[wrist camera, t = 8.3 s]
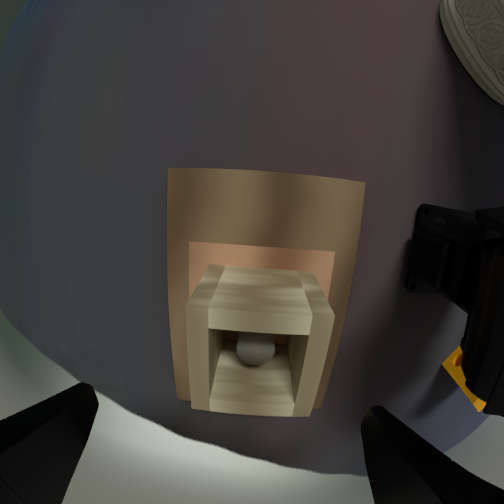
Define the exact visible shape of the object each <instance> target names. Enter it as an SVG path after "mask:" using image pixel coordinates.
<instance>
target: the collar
mask: <svg viewBox="0 0 504 504" xmlns="http://www.w3.org/2000/svg"><path fill="white" fill-rule="evenodd" d="M185 309H186V335H187V353H188V369H189V383H190V395H191V406H192V409H198V410H206V411H214V412H222V413H232V414H244V415H260V416H293V417H302V416H310V414H311V411H312V408H313V404H314V401H315V397H316V394H317V390H318V386H319V383H320V379H321V375H322V371H323V367H324V363H325V359H326V355H327V351H328V346H329V342H330V338H331V333H332V328H333V324H334V319H335V315H334V313H333V311H332V309H331V307H330V305H329V303H328V301H327V299H326V297H325V295H324V293H323V291H322V289H321V287H320V285H319V283H318V281H317V279H316V277H315V275H314V273H313V272H312V271H297V270H283V269H268V268H255V267H241V266H228V265H215V264H209V266H208V268H207V269H206V271H205V273H204V275H203V276H202V278H201V280H200V281H199V283H198V285H197V286H196V288H195V290H194V292H193V293H192V295H191V297H190V298H189V300H188V302H187V304H186V305H185ZM224 330H232V331H244V332H257V333H273V334H289V335H288V341H287V344H275V353H274V355H273V357H272V358H271V359H270V360H269V361H268V362H266V363H264V364H260V365H252V364H248V363H246V362H244V361H243V360H241V359H240V357H239V356H238V354H237V342H238V341H232V340H223V331H224Z"/></svg>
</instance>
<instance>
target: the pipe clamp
mask: <svg viewBox="0 0 504 504" xmlns="http://www.w3.org/2000/svg"><path fill="white" fill-rule="evenodd" d="M461 359H462V350H461V347H460V346H459V347H458V348H457V349H456V350H455V351H454V352H453V353H452V354H451V355H450V356H449V357H448V358H447V359H446V360H445V361H444V362H443V363H442V365H443V366H444V368H445V369H446V370H447V371H448V373H449V374H450V375H451V376H452V378H453V379H454V380H455V381H456V383H457V384H458V385H459V387H460V388H461V389H462V390H463V392H464V393H465V394H466V396H467V397H468V398H469V400H470V401H471V402H472V403H473V405H474V406H475V408H476V409H477V410H478V412H480V411H481V410H482V409H483V408H484V407H485V405H486V402H484V401H482V400H480V399H479V398H478V397H476V396H475V395H474V394H472V393H471V392H470V390H469V389H468V388H467V387H466V386H465V381H466V379H465V377H464V374H463V371H462V368H461Z"/></svg>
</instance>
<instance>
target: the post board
mask: <svg viewBox="0 0 504 504" xmlns="http://www.w3.org/2000/svg"><path fill="white" fill-rule="evenodd" d="M364 193H365V182H360V181H353V180H345V179H338V178H330V177H321V176H312V175H302V174H292V173H281V172H268V171H253V170H236V169H212V168H168V189H167V280H168V302H169V319H170V333H171V345H172V356H173V366H174V376H175V384H176V392H177V399H180V400H186V401H191V395H190V383H189V369H188V353H187V335H186V309H185V305H186V304H187V302H188V300H189V298H190V297H191V295H192V293H193V292H194V290H195V288H196V286H197V285H198V283H199V281H200V280H201V278H202V276H203V275H204V273H205V271H206V269H207V268H208V266H209V264H215V265H228V266H241V267H255V268H268V269H283V270H297V271H312V272H313V273H314V275H315V277H316V279H317V281H318V283H319V285H320V287H321V289H322V291H323V293H324V295H325V297H326V299H327V301H328V303H329V305H330V307H331V309H332V311H333V313H334V315H335V319H334V324H333V328H332V333H331V338H330V342H329V346H328V351H327V355H326V359H325V363H324V367H323V371H322V375H321V379H320V383H319V386H318V390H317V394H316V397H315V401H314V404H313V408H312V409H321V406H322V403H323V400H324V397H325V393H326V390H327V387H328V383H329V380H330V376H331V373H332V369H333V365H334V361H335V358H336V354H337V350H338V346H339V342H340V337H341V333H342V329H343V324H344V320H345V315H346V311H347V306H348V301H349V296H350V291H351V285H352V280H353V274H354V268H355V262H356V256H357V250H358V243H359V236H360V228H361V220H362V212H363V203H364ZM288 335H289V334H273V333H257V332H244V331H232V330H224V331H223V340H232V341H238V342H237V354H238V356H239V357H240V359H241V360H243V361H244V362H246V363H248V364H252V365H260V364H264V363H266V362H268V361H269V360H270V359H271V358H272V357H273V355H274V353H275V344H287V341H288Z"/></svg>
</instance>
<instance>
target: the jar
mask: <svg viewBox="0 0 504 504" xmlns="http://www.w3.org/2000/svg"><path fill="white" fill-rule="evenodd" d="M439 11H440V18H441V22H442V26H443V29H444V31H445V34H446V36H447V38H448V40H449V42H450V44H451V46H452V48H453V50H454V52H455V53H456V55H457V57H458V58H459V60H460V61H461V63H462V64H463V66H464V67H465V69H466V70H467V71H468V73H469V74H470V75H471V77H472V78H473V79H474V80H475V82H476V83H477V84H478V85H479V86H480V87H481V88H482V89H483V90H484V91H485V92H486V93H487V94H488V95H489V96H490V97H491V98H492V99H494V100H495V101H497V102H498V103H500V104H502V105H504V0H441V3H440V8H439Z"/></svg>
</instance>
